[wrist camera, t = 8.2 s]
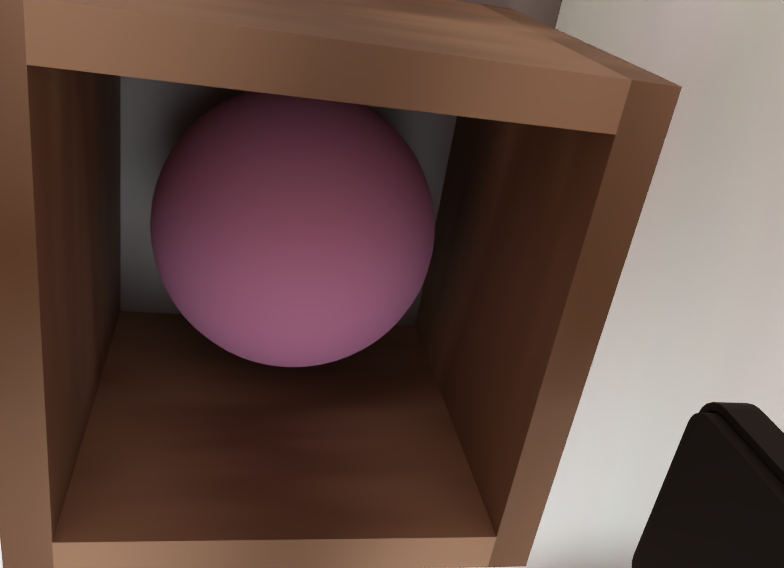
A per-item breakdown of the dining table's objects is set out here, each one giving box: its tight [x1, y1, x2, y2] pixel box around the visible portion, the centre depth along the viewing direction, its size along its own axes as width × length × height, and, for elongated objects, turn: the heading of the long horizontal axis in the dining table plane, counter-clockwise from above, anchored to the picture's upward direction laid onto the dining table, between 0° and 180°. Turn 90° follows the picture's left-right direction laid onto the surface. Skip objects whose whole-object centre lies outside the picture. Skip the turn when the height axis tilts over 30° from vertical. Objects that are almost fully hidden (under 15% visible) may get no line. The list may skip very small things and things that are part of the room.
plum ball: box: [150, 91, 435, 367], centre depth 16 cm, size 6×6×6 cm
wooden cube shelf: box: [0, 0, 682, 568], centre depth 16 cm, size 12×12×9 cm
